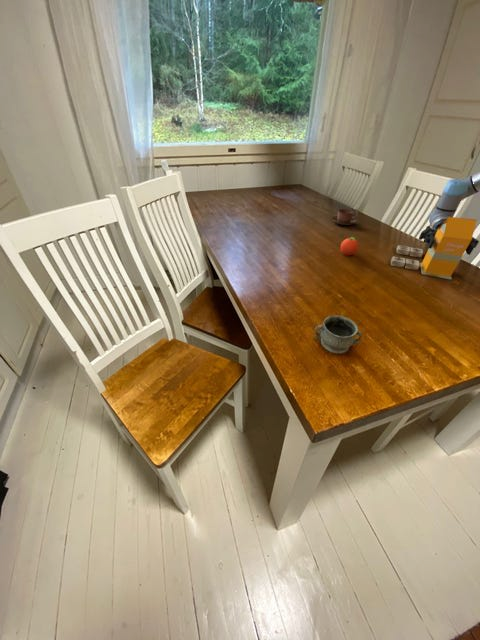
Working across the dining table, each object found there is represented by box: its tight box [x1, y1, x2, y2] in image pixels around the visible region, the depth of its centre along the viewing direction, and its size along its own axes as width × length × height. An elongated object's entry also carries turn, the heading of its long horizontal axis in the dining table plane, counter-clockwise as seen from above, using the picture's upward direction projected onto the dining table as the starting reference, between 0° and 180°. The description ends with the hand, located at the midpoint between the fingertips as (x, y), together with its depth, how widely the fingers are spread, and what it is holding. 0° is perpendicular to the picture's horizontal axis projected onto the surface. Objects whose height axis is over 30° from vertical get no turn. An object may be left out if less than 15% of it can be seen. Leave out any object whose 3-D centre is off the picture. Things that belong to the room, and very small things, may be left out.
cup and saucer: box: [332, 208, 358, 226], centre depth 144 cm, size 12×12×6 cm
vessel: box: [313, 314, 363, 354], centre depth 71 cm, size 12×9×6 cm
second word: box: [390, 255, 453, 281], centre depth 107 cm, size 21×10×2 cm, turn 66°
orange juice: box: [421, 216, 478, 277], centre depth 99 cm, size 8×9×20 cm
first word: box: [396, 245, 424, 258], centre depth 117 cm, size 10×4×2 cm, turn 66°
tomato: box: [340, 236, 359, 256], centre depth 114 cm, size 8×7×7 cm
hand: (450, 247), depth 96 cm, fingers open, 11 cm apart
